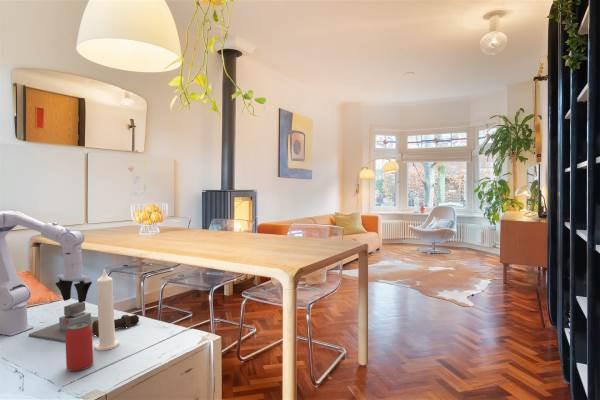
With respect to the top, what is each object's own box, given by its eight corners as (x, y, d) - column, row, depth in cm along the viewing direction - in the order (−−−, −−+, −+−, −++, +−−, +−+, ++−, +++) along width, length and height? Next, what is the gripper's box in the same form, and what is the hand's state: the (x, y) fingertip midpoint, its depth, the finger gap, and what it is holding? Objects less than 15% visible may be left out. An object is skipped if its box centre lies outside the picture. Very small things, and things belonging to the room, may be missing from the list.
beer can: (97, 360, 108) (96, 320, 108) (85, 371, 102) (83, 329, 101) (75, 361, 108) (73, 321, 108) (61, 372, 101) (59, 330, 101)
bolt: (138, 328, 138) (95, 340, 127) (133, 319, 141) (90, 330, 129) (142, 317, 136) (98, 328, 125) (136, 308, 139) (93, 318, 127)
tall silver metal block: (63, 328, 132) (62, 306, 132) (78, 322, 138) (77, 301, 137) (72, 329, 130) (71, 307, 130) (87, 323, 136) (86, 302, 136)
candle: (92, 352, 114) (88, 272, 113) (98, 343, 121) (95, 268, 120) (117, 349, 116) (113, 270, 115) (121, 340, 123) (118, 266, 122)
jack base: (28, 336, 128) (27, 320, 128) (80, 316, 147) (79, 303, 147) (70, 343, 121) (69, 327, 121) (118, 321, 140) (118, 308, 140)
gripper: (48, 265, 132) (49, 302, 132) (77, 267, 127) (79, 306, 127) (66, 261, 139) (67, 296, 139) (95, 263, 134) (96, 300, 134)
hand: (74, 300), depth 134 cm, fingers open, 7 cm apart
